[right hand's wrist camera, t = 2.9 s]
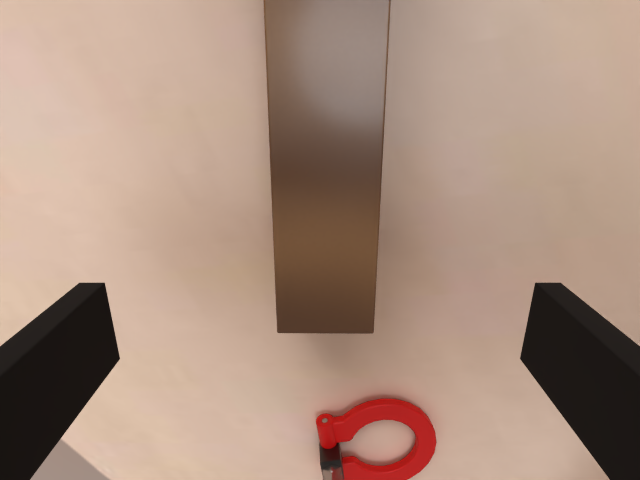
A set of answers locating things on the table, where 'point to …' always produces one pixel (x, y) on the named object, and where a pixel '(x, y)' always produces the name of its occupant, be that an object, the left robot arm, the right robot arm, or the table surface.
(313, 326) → the bar
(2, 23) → the table surface
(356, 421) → the tow hook
